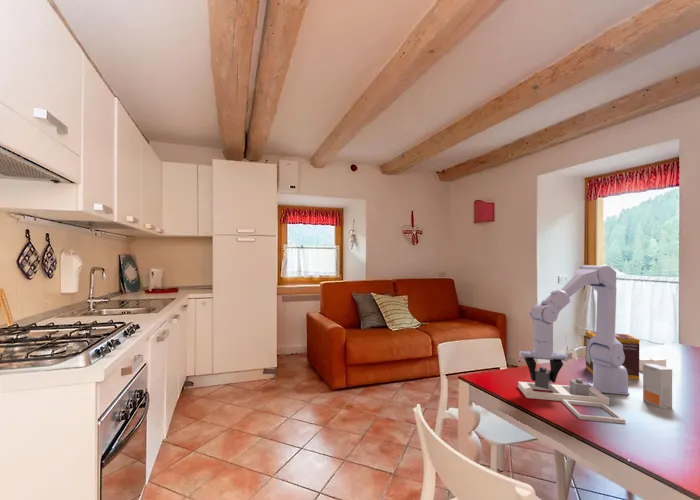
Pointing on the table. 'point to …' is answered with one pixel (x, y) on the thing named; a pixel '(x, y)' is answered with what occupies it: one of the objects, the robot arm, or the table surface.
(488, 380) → the table surface
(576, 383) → the twin plug
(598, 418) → the white square frame
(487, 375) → the table surface
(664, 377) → the skincare box
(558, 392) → the twin square frames
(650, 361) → the napkin holder
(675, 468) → the table surface
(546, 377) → the plug
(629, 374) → the supplement box
